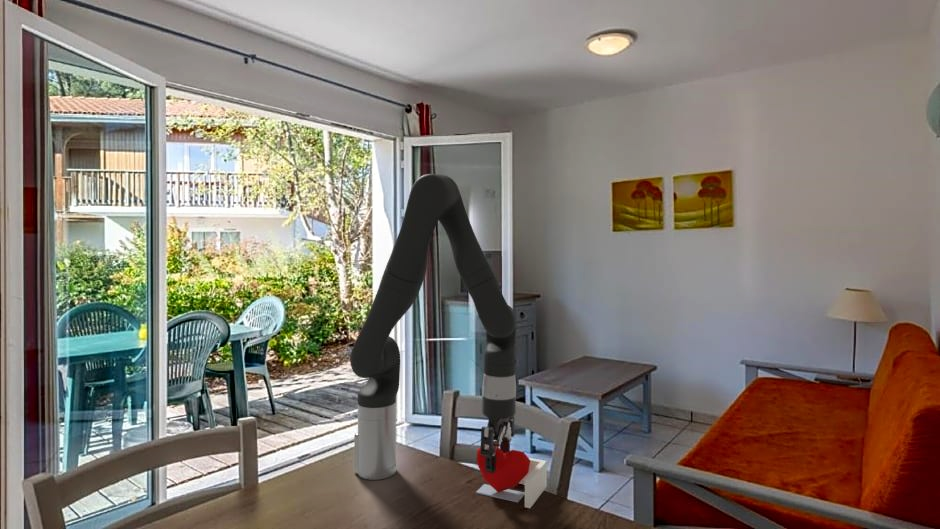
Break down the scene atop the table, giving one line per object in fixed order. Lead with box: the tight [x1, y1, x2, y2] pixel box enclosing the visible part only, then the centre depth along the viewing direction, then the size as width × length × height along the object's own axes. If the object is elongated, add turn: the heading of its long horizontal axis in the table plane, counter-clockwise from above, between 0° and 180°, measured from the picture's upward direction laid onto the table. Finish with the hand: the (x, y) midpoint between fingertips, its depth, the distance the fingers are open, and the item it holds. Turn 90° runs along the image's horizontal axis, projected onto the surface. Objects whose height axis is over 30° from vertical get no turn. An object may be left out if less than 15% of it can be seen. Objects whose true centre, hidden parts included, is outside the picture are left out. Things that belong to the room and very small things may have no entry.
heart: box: [475, 446, 530, 492], centre depth 117 cm, size 12×4×10 cm, turn 78°
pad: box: [475, 483, 525, 503], centre depth 117 cm, size 10×4×1 cm, turn 64°
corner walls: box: [518, 457, 548, 509], centre depth 118 cm, size 12×11×6 cm
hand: (497, 464), depth 118 cm, fingers open, 8 cm apart
